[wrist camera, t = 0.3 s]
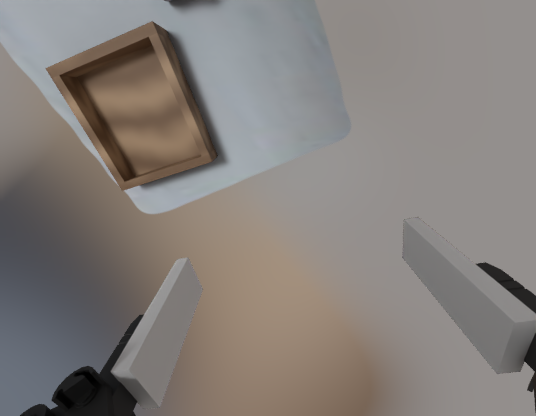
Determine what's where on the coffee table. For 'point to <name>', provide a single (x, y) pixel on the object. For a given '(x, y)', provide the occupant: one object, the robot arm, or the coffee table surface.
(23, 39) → the coffee table surface
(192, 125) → the tray
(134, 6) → the coffee table surface
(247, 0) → the coffee table surface
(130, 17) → the coffee table surface
